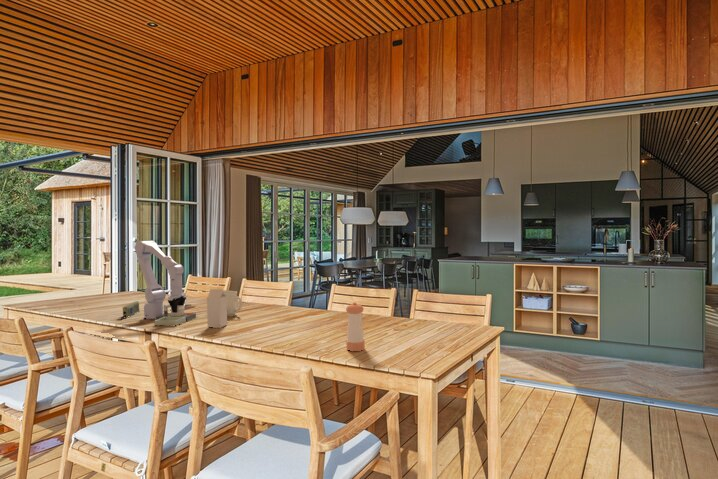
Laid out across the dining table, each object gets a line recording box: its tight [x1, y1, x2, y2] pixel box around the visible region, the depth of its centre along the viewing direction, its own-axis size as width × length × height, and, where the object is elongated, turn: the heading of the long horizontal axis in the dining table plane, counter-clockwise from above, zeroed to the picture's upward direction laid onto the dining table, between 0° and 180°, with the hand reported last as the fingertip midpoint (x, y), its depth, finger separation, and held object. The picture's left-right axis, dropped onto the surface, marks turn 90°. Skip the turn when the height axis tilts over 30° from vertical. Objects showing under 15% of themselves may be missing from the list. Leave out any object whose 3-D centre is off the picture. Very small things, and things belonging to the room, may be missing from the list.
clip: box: [163, 301, 186, 315], centre depth 262 cm, size 16×2×5 cm, turn 158°
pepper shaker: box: [345, 302, 366, 352], centre depth 187 cm, size 7×7×19 cm
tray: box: [153, 317, 187, 326], centre depth 243 cm, size 12×10×3 cm
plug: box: [169, 304, 186, 316], centre depth 255 cm, size 6×6×6 cm
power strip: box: [155, 311, 197, 322], centre depth 255 cm, size 18×10×3 cm, turn 83°
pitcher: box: [223, 289, 243, 317], centre depth 264 cm, size 11×18×14 cm, turn 62°
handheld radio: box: [119, 300, 140, 319], centre depth 269 cm, size 7×3×25 cm
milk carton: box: [206, 288, 228, 329], centre depth 235 cm, size 7×7×19 cm
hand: (177, 311), depth 255 cm, fingers closed on plug, 6 cm apart
